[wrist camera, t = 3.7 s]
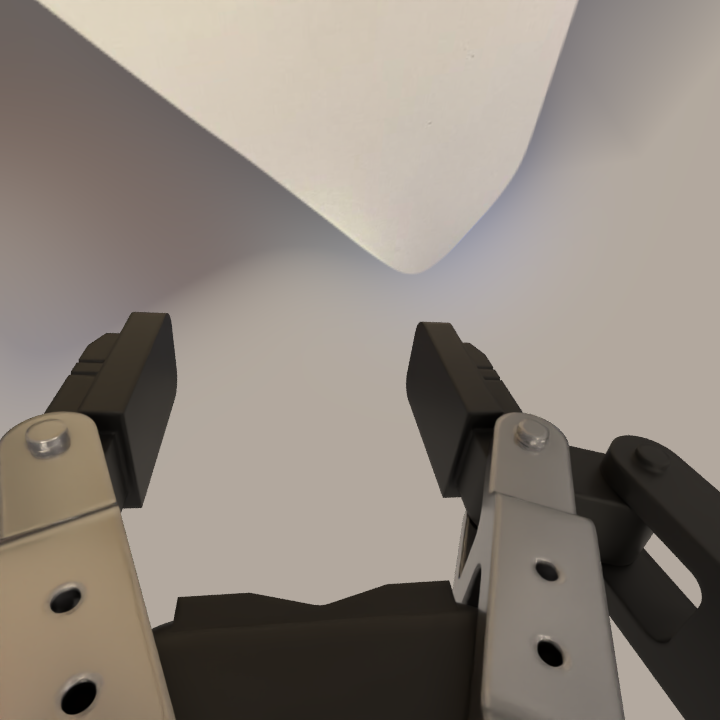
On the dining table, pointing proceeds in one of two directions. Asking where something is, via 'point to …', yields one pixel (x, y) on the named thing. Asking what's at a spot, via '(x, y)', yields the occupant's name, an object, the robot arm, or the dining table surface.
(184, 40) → the dining table surface
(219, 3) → the dining table surface
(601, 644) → the robot arm
